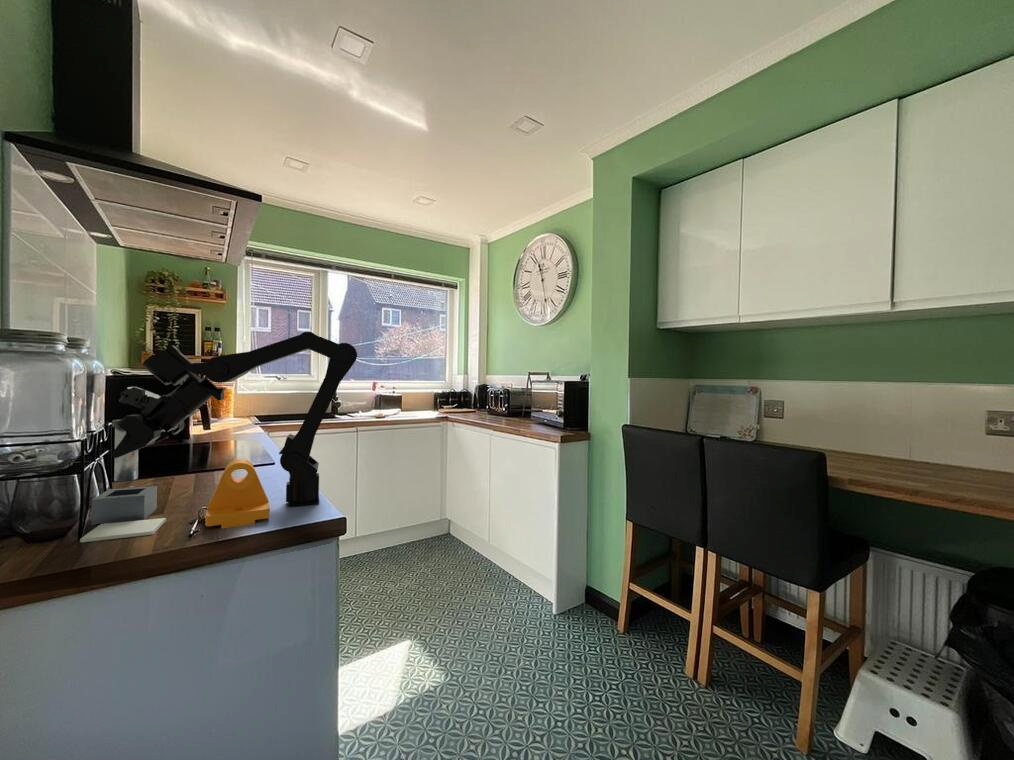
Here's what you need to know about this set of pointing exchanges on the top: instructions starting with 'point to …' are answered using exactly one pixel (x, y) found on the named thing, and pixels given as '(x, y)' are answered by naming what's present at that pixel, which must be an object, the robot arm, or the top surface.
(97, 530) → the mat
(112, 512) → the grey open box
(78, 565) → the top surface
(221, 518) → the bracket
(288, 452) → the robot arm
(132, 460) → the key peg
